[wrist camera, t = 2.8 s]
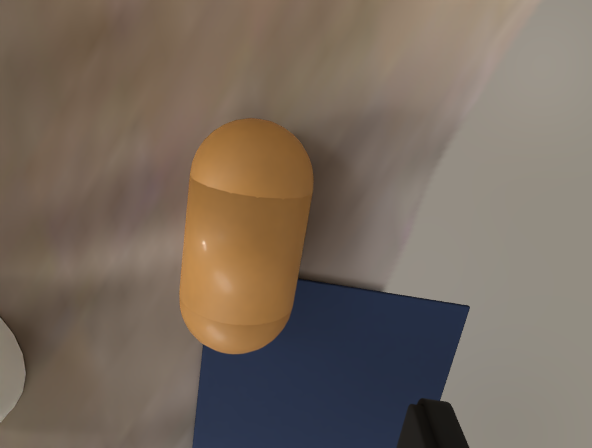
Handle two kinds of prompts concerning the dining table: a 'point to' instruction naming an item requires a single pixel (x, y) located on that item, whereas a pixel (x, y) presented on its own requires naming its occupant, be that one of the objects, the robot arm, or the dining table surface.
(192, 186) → the bread roll
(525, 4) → the dining table surface
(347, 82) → the dining table surface
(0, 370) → the base with upright slab
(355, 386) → the napkin
